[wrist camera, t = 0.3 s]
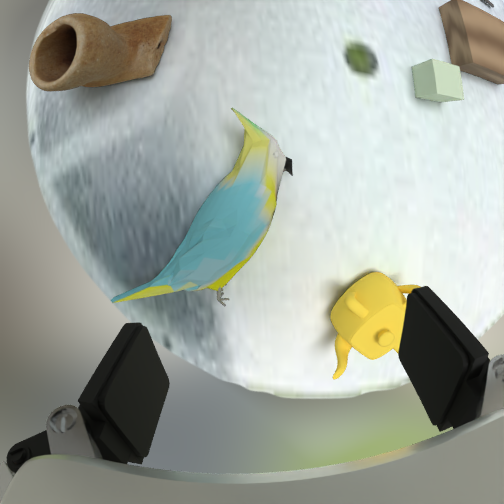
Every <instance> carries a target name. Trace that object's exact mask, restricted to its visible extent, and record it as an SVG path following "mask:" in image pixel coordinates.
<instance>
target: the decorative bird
mask: <svg viewBox="0 0 504 504" xmlns="http://www.w3.org/2000/svg"><path fill="white" fill-rule="evenodd" d="M231 109H232V110H233V111H234V112H235V113H236V115H237V117H238V118H239V120H240V121H241V123H242V125H243V126H244V128H245V132H244V146H243V148H242V150H241V153H240V155H239V157H238V159H237V162H236V164H235V166H234V168H233V171H232V172H231V173H229V174H228V175H227V176H226V177H225V178H224V179H223V180H222V181H221V182H220V183H219V184H218V185H217V186H216V187H215V189H214V190H213V191H212V192H211V194H210V195H209V196H208V198H207V199H206V200H205V202H204V203H203V205H202V206H201V208H200V209H199V211H198V213H197V215H196V216H195V218H194V220H193V222H192V225H191V227H190V229H189V231H188V233H187V235H186V237H185V239H184V240H183V242H182V243H181V244H180V246H179V247H178V248H177V250H176V252H175V254H174V256H173V257H172V259H171V260H170V262H169V263H168V264H167V266H166V267H165V268H164V269H163V270H162V271H161V272H160V274H159V275H158V276H157V277H156V278H154V279H153V280H152V281H150V282H148V283H146V284H143V285H141V286H139V287H136V288H134V289H132V290H129V291H127V292H125V293H123V294H120V295H118V296H116V297H114V298H113V299H112V300H111V301H112V303H115V302H121V301H127V300H133V299H138V298H144V297H150V296H155V295H161V294H166V293H171V292H176V291H180V290H186V291H198V290H203V289H205V288H210V289H213V290H216V291H217V300H218V301H219V302H220V303H221V304H222V305H223V306H226V305H225V304H224V303H223V302H222V301H221V300H229V298H222V299H221V297H222V295H223V294H224V293H223V292H222V293H221V291H223V289H222V287H223V286H225V285H227V283H228V282H229V280H230V279H231V278H232V277H233V276H234V275H235V274H236V273H237V272H238V271H239V270H240V269H241V268H242V266H243V265H244V264H245V263H246V262H247V261H248V260H249V259H250V258H251V257H252V255H253V254H254V253H255V251H256V250H257V249H258V247H259V246H260V244H261V242H262V241H263V239H264V237H265V236H266V234H267V232H268V229H269V227H270V224H271V221H272V218H273V215H274V212H275V208H276V201H277V194H278V190H279V186H280V182H281V178H282V174H283V172H284V171H288V172H289V173H290V174H291V175H292V159H290V158H287V157H285V155H284V154H283V152H282V151H281V149H280V148H279V145H278V143H277V140H276V139H275V138H274V137H273V136H272V135H270V134H269V133H268V132H266V131H265V130H263V129H262V128H260V127H259V126H257V125H256V124H254V123H253V122H251V121H250V120H249V119H247V118H246V117H245V116H243V115H242V114H241V113H239V112H238V111H236V110H235V109H234V108H231Z"/></svg>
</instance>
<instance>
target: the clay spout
mask: <svg viewBox="0 0 504 504" xmlns="http://www.w3.org/2000/svg"><path fill="white" fill-rule="evenodd" d="M171 21H172V17H171V16H170V15H164V16H155V17H149V18H144V19H139V20H135V21H130V22H126V23H122V24H118V25H114V26H111V27H110V26H109V25H108V24H107V23H106V22H104V21H102V20H100V19H99V18H96V17H94V16H90V15H87V14H83V13H74V14H69V15H66V16H62V17H61V18H59V19H57V20H55V21H54V22H53V23H51V24H50V25H49V26H47V27H46V28H45V29H44V31H43V32H42V33H41V34H40V35H39V37H38V39H37V40H36V42H35V44H34V46H33V49H32V52H31V55H30V61H29V71H30V76H31V79H32V81H33V82H34V84H35V85H36V86H37V87H38V88H40V89H42V90H44V91H63V90H69V89H73V88H76V87H79V86H84V87H101V86H106V85H111V84H115V83H120V82H124V81H128V80H133V79H137V78H143V77H148V76H151V75H153V74H154V72H155V68H156V66H157V65H158V63H159V61H160V58H161V55H162V53H163V51H164V46H165V44H166V42H167V39H168V35H169V31H170V28H171Z"/></svg>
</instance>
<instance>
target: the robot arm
mask: <svg viewBox="0 0 504 504" xmlns="http://www.w3.org/2000/svg"><path fill="white" fill-rule="evenodd" d="M488 354H489V353H488V352H487V351H486V349H485V348H484V347H483V346H482V344H481V343H480V342H479V341H478V340H477V339H476V337H475V336H474V335H473V334H472V333H471V332H470V331H469V329H468V328H467V327H466V326H465V325H464V324H463V323H462V322H461V320H460V319H459V318H458V317H457V316H456V315H455V314H454V313H453V312H452V311H451V310H450V309H449V307H448V306H447V305H446V304H445V303H444V302H443V301H442V300H441V299H440V298H439V297H438V296H437V295H436V294H435V293H434V292H433V291H432V290H431V289H430V288H429V287H428V286H424V287H419V288H414V289H413V290H412V291H411V293H410V294H408V296H407V302H406V310H405V317H404V323H403V329H402V335H401V340H400V346H399V351H398V355H399V359H400V361H401V363H402V365H403V367H404V369H405V371H406V373H407V375H408V376H409V378H410V380H411V382H412V384H413V386H414V388H415V390H416V392H417V394H418V396H419V397H420V400H421V402H422V404H423V406H424V408H425V410H426V412H427V414H428V416H429V418H430V421H431V423H432V424H433V425H437V427H438V429H439V431H443V430H445V429H447V428H450V427H453V430H450V431H448V432H445V433H443V434H440V435H438V436H435V437H432V438H430V439H427V440H424V441H421V442H419V443H415V444H413V445H410V446H407V447H403V448H400V449H397V450H394V451H390V452H387V453H383V454H380V455H376V456H372V457H368V458H364V459H359V460H355V461H350V462H346V463H340V464H335V465H330V466H324V467H317V468H310V469H304V470H294V471H285V472H272V473H253V474H211V473H210V474H209V473H192V472H180V471H169V470H161V469H154V468H147V467H140V466H134V465H128V464H127V463H128V462H132V463H137V464H142V462H143V458H144V457H147V455H148V453H149V450H150V447H151V443H152V440H153V437H154V434H155V430H156V427H157V424H158V420H159V417H160V414H161V411H162V408H163V405H164V401H165V398H166V395H167V392H168V388H169V379H168V376H167V374H166V372H165V369H164V367H163V365H162V363H161V360H160V358H159V356H158V354H157V351H156V349H155V346H154V344H153V341H152V339H151V336H150V334H149V331H148V329H147V327H145V326H143V325H142V324H141V323H126V324H125V325H124V326H123V327H122V329H121V331H120V332H119V334H118V335H117V337H116V338H115V340H114V341H113V343H112V345H111V346H110V348H109V350H108V351H107V353H106V354H105V356H104V357H103V359H102V361H101V362H100V364H99V365H98V367H97V369H96V370H95V372H94V374H93V375H92V377H91V379H90V380H89V382H88V384H87V385H86V387H85V389H84V391H83V392H82V394H81V396H80V398H79V399H78V402H79V403H80V406H79V408H77V407H75V406H73V405H63V406H60V407H58V408H56V409H55V410H54V411H53V412H51V414H50V415H49V417H48V419H47V421H46V429H47V430H45V431H43V432H41V433H39V434H37V435H35V436H32V437H30V438H28V439H26V440H23V441H21V442H19V443H17V444H15V445H14V446H13V447H12V448H11V449H10V450H9V452H8V455H7V463H6V462H4V461H3V462H2V463H1V464H0V504H504V355H498V356H496V357H494V358H493V359H492V360H491V361H490V359H489V358H488Z"/></svg>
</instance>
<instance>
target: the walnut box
mask: <svg viewBox="0 0 504 504" xmlns="http://www.w3.org/2000/svg"><path fill="white" fill-rule="evenodd" d="M439 11H440V14H441V18H442V22H443V26H444V30H445V34H446V38H447V43H448V48H449V53H450V58H451V64H453V65H456V66H459V67H460V71H463V72H466V73H469V74H472V75H475V76H478V77H480V78H483V79H486V80H488V81H491V82H493V83H496V84H504V22H503V21H501V20H499V19H498V18H496V17H494V16H492V15H491V14H489V13H487V12H485V11H483V10H481V9H479V8H477V7H475V6H473V5H471V4H469V3H467V2H465V1H463V0H451V1H449V2H447V3H445V4H444V5H442V6H440V7H439Z"/></svg>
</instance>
